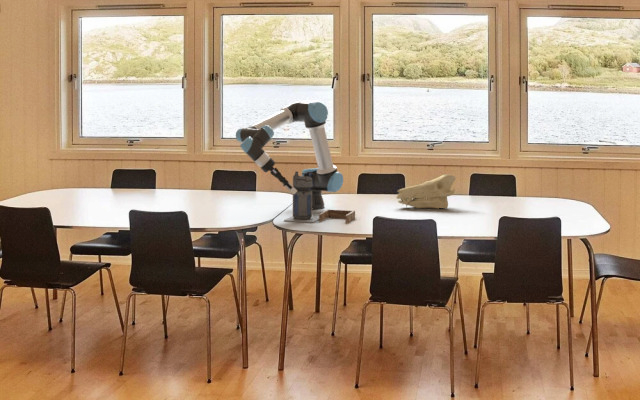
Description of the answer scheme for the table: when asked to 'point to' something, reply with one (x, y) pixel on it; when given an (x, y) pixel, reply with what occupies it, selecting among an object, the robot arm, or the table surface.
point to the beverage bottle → (302, 196)
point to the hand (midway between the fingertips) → (293, 191)
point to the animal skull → (428, 193)
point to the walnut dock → (337, 215)
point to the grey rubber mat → (311, 220)
